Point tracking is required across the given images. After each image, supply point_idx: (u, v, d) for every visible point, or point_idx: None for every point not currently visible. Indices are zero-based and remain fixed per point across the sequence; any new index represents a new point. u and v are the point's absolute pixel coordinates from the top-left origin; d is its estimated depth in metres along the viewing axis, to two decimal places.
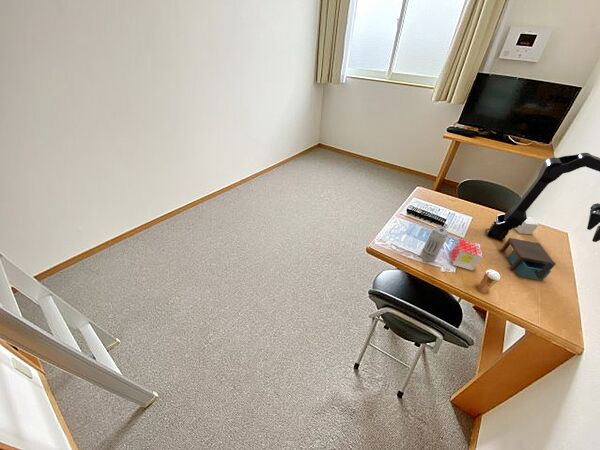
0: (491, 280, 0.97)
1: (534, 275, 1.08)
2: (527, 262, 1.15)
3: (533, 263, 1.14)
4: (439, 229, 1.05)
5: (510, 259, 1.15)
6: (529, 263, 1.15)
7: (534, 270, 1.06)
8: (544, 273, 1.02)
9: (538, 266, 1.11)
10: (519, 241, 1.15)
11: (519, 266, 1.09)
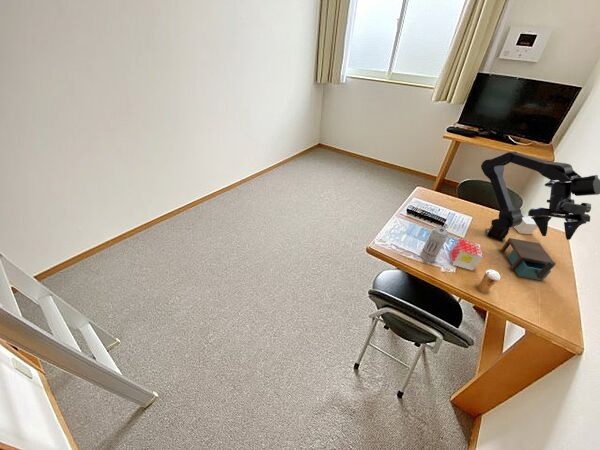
0: (491, 280, 0.97)
1: (534, 275, 1.08)
2: (527, 262, 1.15)
3: (533, 263, 1.14)
4: (439, 229, 1.05)
5: (510, 259, 1.15)
6: (529, 263, 1.15)
7: (534, 270, 1.06)
8: (544, 273, 1.02)
9: (538, 266, 1.11)
10: (519, 241, 1.15)
11: (519, 266, 1.09)
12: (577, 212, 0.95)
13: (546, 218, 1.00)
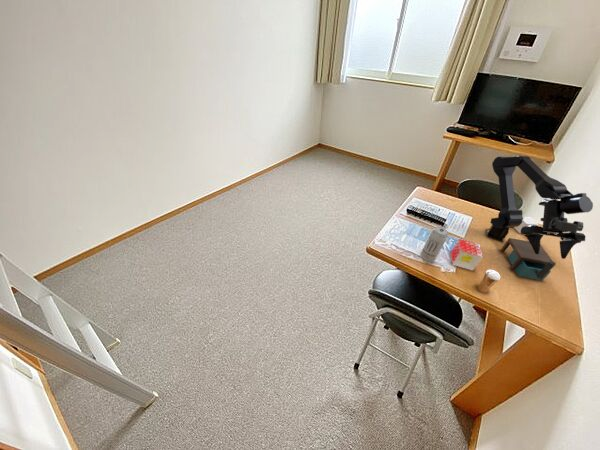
0: (491, 280, 0.97)
1: (534, 275, 1.08)
2: (527, 262, 1.15)
3: (533, 263, 1.14)
4: (439, 229, 1.05)
5: (510, 259, 1.15)
6: (529, 263, 1.15)
7: (534, 270, 1.06)
8: (544, 273, 1.02)
9: (538, 266, 1.11)
10: (519, 241, 1.15)
11: (519, 266, 1.09)
12: (568, 230, 0.95)
13: (538, 236, 1.00)
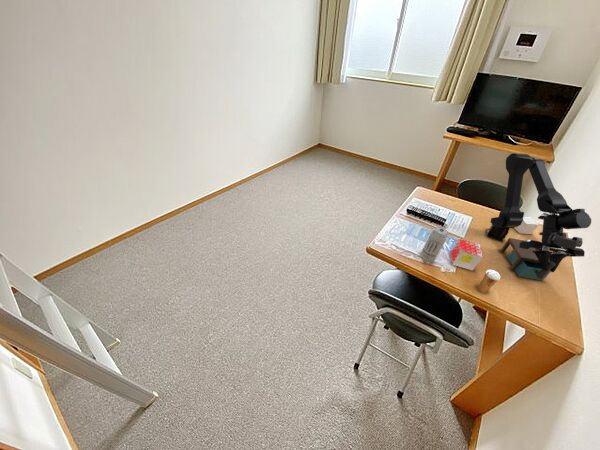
0: (491, 280, 0.97)
1: (534, 275, 1.08)
2: (527, 262, 1.15)
3: (533, 263, 1.14)
4: (439, 229, 1.05)
5: (510, 259, 1.15)
6: (529, 263, 1.15)
7: (534, 270, 1.06)
8: (544, 273, 1.02)
9: (538, 266, 1.11)
10: (519, 241, 1.15)
11: (519, 266, 1.09)
12: (567, 246, 0.94)
13: (546, 253, 0.99)
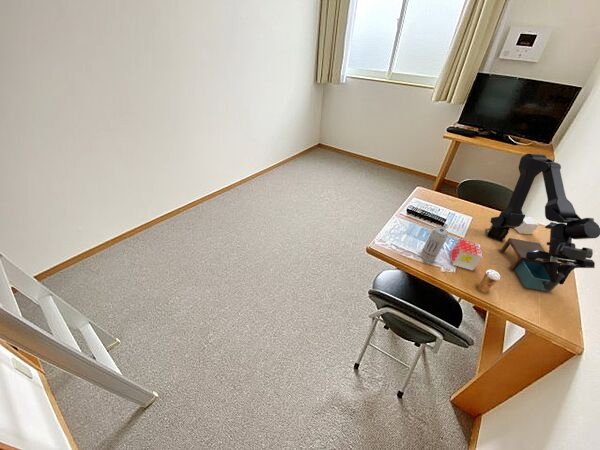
0: (491, 280, 0.97)
1: (541, 286, 1.03)
2: (534, 272, 1.11)
3: (540, 273, 1.09)
4: (439, 229, 1.05)
5: (516, 269, 1.11)
6: (536, 273, 1.10)
7: (541, 281, 1.02)
8: (552, 285, 0.98)
9: (545, 277, 1.06)
10: (519, 241, 1.15)
11: (526, 277, 1.05)
12: (577, 257, 0.90)
13: (555, 264, 0.95)
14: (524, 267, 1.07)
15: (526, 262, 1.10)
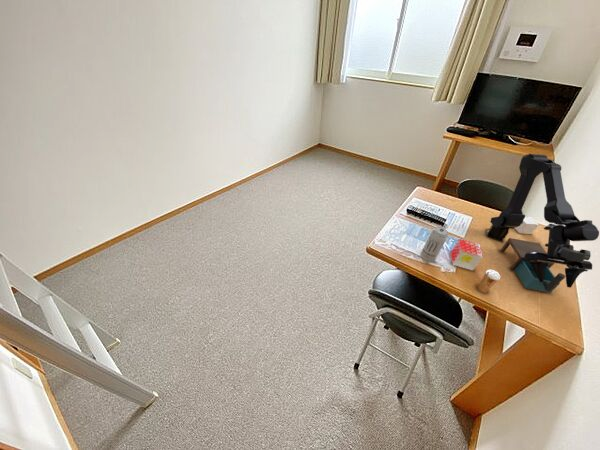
0: (491, 280, 0.97)
1: (542, 287, 1.03)
2: (534, 273, 1.11)
3: None
4: (439, 229, 1.05)
5: (516, 269, 1.11)
6: None
7: (542, 282, 1.01)
8: (553, 286, 0.97)
9: (546, 277, 1.06)
10: (519, 241, 1.15)
11: (526, 277, 1.05)
12: (574, 259, 0.90)
13: (542, 263, 0.96)
14: (524, 268, 1.06)
15: (526, 263, 1.10)
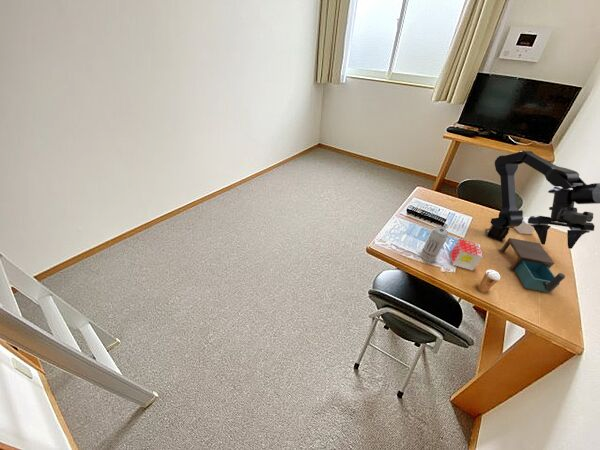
0: (491, 280, 0.97)
1: (542, 287, 1.03)
2: (534, 273, 1.11)
3: (540, 274, 1.09)
4: (439, 229, 1.05)
5: (516, 269, 1.11)
6: (536, 274, 1.10)
7: (542, 282, 1.01)
8: (553, 286, 0.97)
9: (546, 277, 1.06)
10: (519, 241, 1.15)
11: (526, 277, 1.05)
12: (577, 222, 0.93)
13: (545, 227, 0.98)
14: (524, 268, 1.06)
15: (526, 263, 1.10)
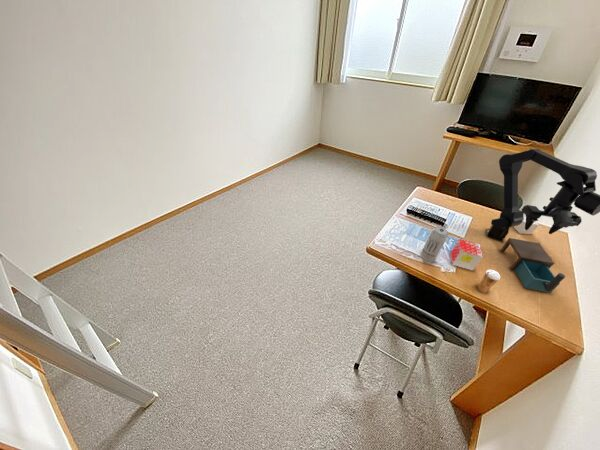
0: (491, 280, 0.97)
1: (542, 287, 1.03)
2: (534, 273, 1.11)
3: (540, 274, 1.09)
4: (439, 229, 1.05)
5: (516, 269, 1.11)
6: (536, 274, 1.10)
7: (542, 282, 1.01)
8: (553, 286, 0.97)
9: (546, 277, 1.06)
10: (519, 241, 1.15)
11: (526, 277, 1.05)
12: (560, 225, 1.01)
13: (532, 220, 1.07)
14: (524, 268, 1.06)
15: (526, 263, 1.10)
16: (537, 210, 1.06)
